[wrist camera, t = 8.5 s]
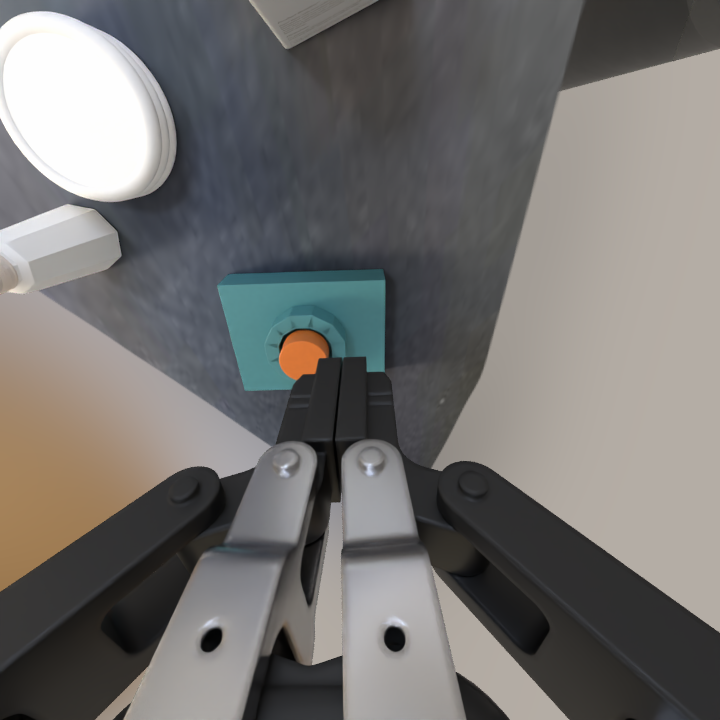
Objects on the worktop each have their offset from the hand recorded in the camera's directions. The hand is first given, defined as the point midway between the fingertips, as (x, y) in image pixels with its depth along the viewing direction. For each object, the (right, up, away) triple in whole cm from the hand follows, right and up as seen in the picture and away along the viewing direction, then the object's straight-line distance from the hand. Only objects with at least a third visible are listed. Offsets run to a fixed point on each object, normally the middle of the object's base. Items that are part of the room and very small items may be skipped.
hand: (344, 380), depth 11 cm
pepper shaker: (-23, +11, +18) cm, 31 cm away
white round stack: (-18, +18, +14) cm, 29 cm away
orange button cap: (-4, +2, +19) cm, 19 cm away
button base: (-4, +4, +23) cm, 23 cm away
